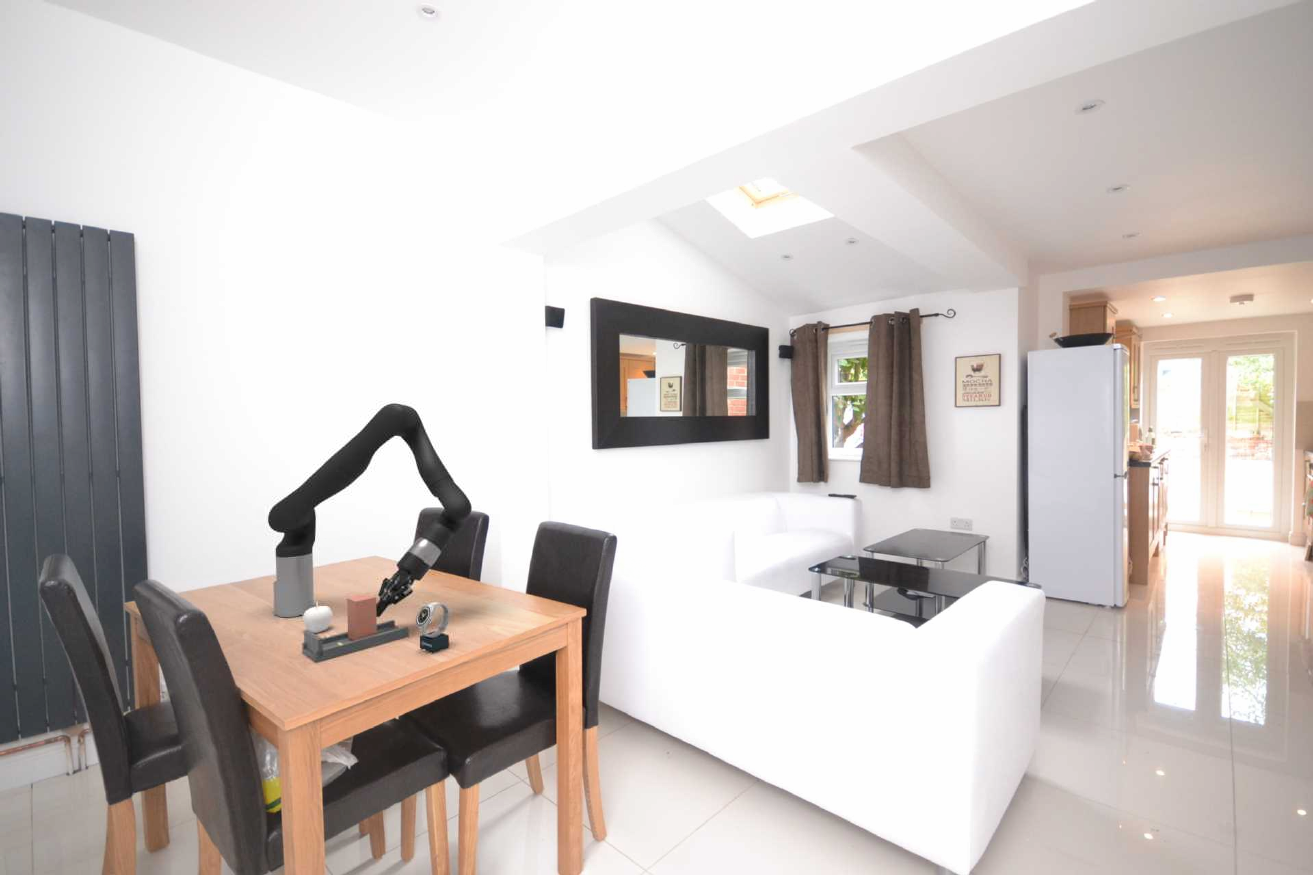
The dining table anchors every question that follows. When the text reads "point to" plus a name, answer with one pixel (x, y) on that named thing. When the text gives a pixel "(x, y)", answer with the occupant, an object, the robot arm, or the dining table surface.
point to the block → (361, 616)
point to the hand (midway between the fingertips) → (374, 614)
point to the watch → (436, 638)
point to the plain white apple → (317, 618)
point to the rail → (349, 642)
